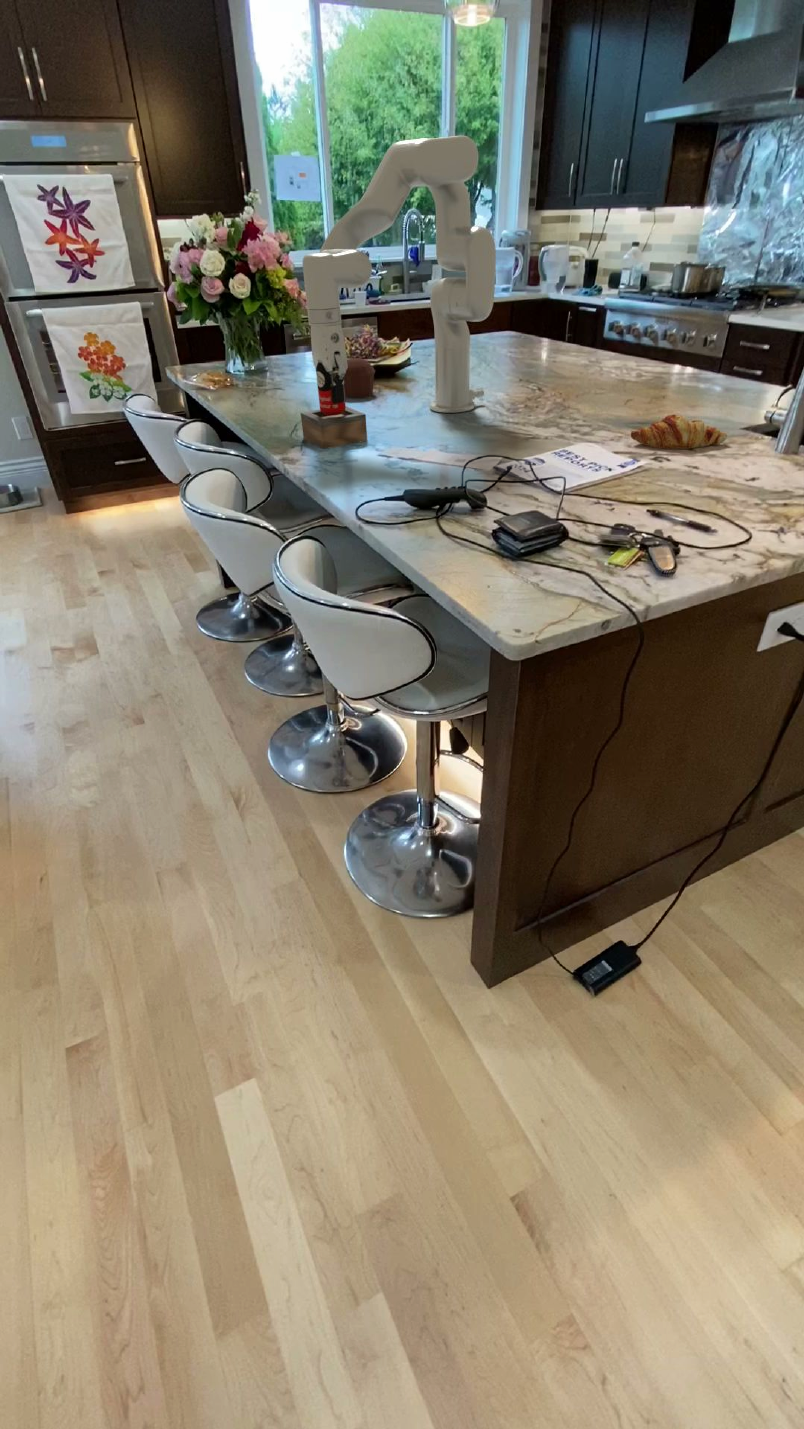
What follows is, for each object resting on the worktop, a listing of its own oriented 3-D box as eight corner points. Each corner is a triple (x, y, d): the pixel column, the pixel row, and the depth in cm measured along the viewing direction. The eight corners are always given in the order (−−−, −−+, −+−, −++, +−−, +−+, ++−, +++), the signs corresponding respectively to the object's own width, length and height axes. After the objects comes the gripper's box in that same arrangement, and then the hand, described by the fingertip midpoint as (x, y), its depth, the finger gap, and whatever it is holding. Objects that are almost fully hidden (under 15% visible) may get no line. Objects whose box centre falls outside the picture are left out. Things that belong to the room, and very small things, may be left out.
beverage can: (322, 410, 181) (316, 357, 174) (347, 409, 181) (342, 356, 174) (318, 416, 176) (313, 362, 169) (344, 416, 176) (340, 361, 169)
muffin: (356, 389, 230) (353, 354, 224) (383, 392, 224) (382, 357, 218) (331, 397, 222) (328, 361, 216) (359, 400, 216) (357, 364, 211)
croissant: (718, 456, 170) (721, 421, 169) (732, 446, 160) (736, 408, 159) (625, 455, 172) (628, 420, 171) (634, 445, 162) (637, 407, 161)
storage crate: (345, 430, 189) (343, 405, 185) (367, 440, 180) (365, 414, 176) (303, 438, 184) (300, 412, 180) (323, 449, 175) (320, 422, 172)
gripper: (356, 318, 162) (362, 404, 172) (323, 311, 174) (330, 392, 184) (325, 322, 159) (333, 409, 169) (294, 315, 171) (303, 396, 182)
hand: (332, 399), depth 177 cm, fingers closed on beverage can, 6 cm apart
